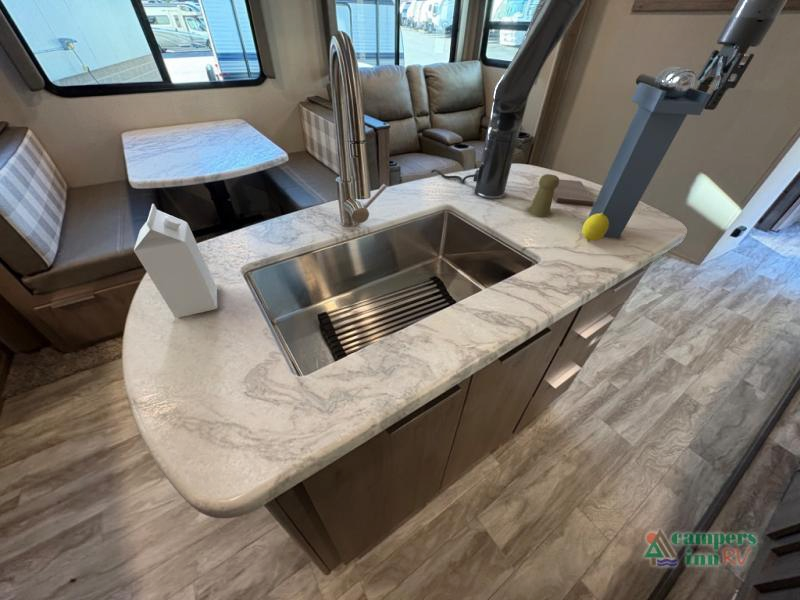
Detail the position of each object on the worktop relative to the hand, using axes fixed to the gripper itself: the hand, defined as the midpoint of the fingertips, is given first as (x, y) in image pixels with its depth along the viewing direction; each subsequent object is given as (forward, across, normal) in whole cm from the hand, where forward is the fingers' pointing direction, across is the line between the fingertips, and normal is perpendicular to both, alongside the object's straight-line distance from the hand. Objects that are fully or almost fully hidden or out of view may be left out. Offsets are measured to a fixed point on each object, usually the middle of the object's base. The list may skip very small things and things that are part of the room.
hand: (701, 106), depth 77 cm
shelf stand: (+30, +13, -12) cm, 34 cm away
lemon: (+30, +20, -16) cm, 39 cm away
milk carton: (+32, +73, -94) cm, 123 cm away
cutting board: (+29, -12, -18) cm, 36 cm away
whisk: (-3, +7, -13) cm, 15 cm away
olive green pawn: (+30, +7, -28) cm, 42 cm away
